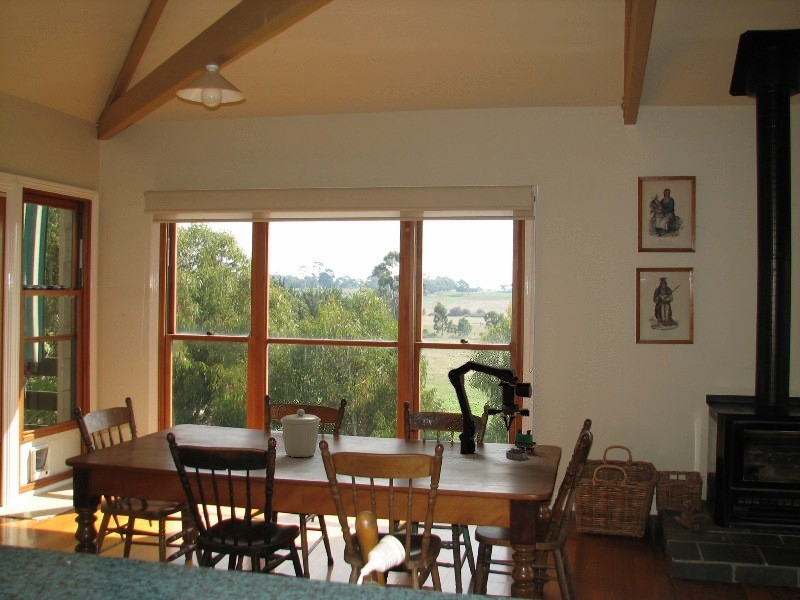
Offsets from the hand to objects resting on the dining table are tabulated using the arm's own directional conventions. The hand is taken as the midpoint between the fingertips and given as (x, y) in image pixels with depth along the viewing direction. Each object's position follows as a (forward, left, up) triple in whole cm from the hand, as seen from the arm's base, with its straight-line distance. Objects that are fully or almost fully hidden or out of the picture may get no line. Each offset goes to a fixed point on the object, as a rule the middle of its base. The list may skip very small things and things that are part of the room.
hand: (507, 430), depth 339 cm
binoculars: (+9, +13, -12) cm, 20 cm away
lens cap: (+4, -2, -12) cm, 12 cm away
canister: (-93, -9, -12) cm, 94 cm away
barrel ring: (+4, -2, -12) cm, 12 cm away
